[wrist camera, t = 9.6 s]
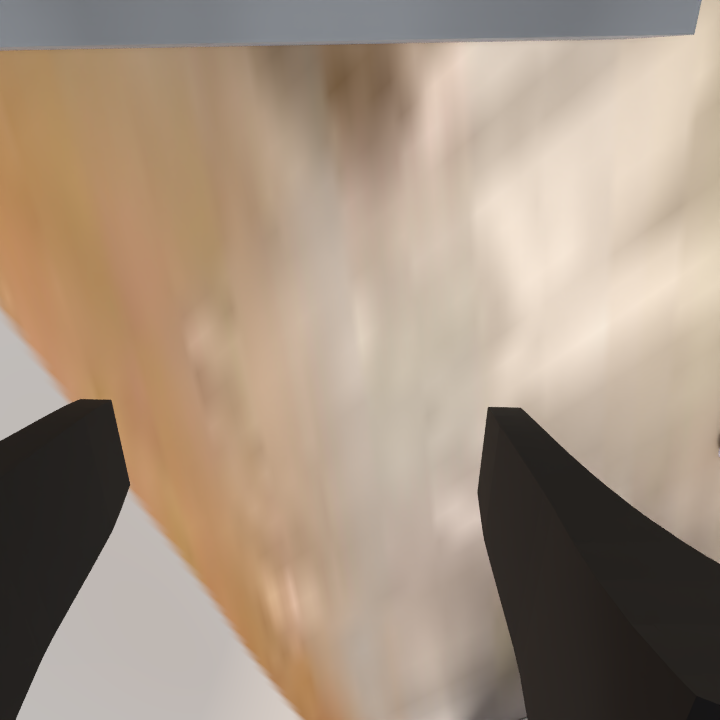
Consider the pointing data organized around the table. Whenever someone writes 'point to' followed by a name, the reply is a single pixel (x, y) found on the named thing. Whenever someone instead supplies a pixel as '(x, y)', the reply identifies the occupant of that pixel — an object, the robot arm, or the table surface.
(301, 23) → the panel
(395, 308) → the table surface
